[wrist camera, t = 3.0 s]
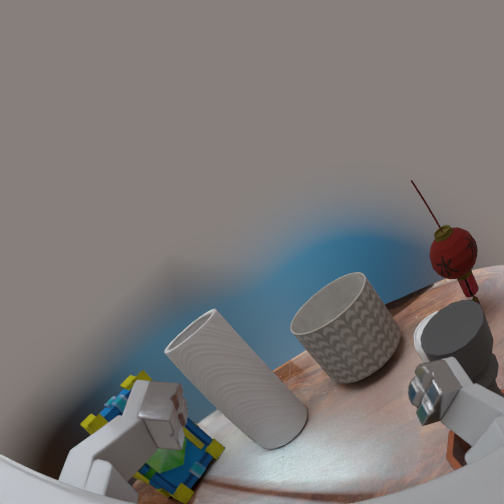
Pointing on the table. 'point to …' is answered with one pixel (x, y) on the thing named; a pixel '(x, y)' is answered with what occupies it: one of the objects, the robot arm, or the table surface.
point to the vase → (237, 381)
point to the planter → (347, 329)
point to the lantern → (454, 256)
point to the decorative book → (164, 450)
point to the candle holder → (463, 341)
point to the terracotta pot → (456, 450)
